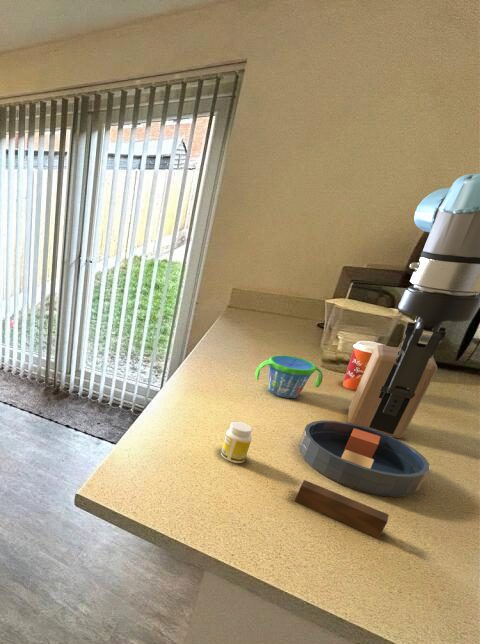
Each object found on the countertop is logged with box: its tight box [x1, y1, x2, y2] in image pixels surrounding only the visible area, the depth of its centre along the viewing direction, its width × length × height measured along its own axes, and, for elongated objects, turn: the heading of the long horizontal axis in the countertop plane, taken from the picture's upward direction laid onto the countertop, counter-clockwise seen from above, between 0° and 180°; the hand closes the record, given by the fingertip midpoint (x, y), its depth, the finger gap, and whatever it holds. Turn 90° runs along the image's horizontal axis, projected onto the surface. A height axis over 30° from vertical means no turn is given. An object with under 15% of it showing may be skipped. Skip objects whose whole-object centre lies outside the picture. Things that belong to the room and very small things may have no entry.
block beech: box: [341, 450, 374, 469], centre depth 82 cm, size 4×4×4 cm
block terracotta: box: [344, 428, 381, 459], centre depth 89 cm, size 4×4×4 cm
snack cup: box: [254, 354, 324, 399], centre depth 115 cm, size 16×11×10 cm
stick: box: [294, 479, 390, 539], centre depth 73 cm, size 12×2×4 cm, turn 41°
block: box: [347, 344, 438, 439], centre depth 97 cm, size 10×10×20 cm
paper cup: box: [342, 340, 387, 392], centre depth 116 cm, size 8×8×14 cm
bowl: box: [297, 419, 431, 498], centre depth 86 cm, size 20×20×6 cm
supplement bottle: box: [220, 421, 253, 464], centre depth 89 cm, size 5×5×8 cm
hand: (385, 414), depth 65 cm, fingers open, 13 cm apart
